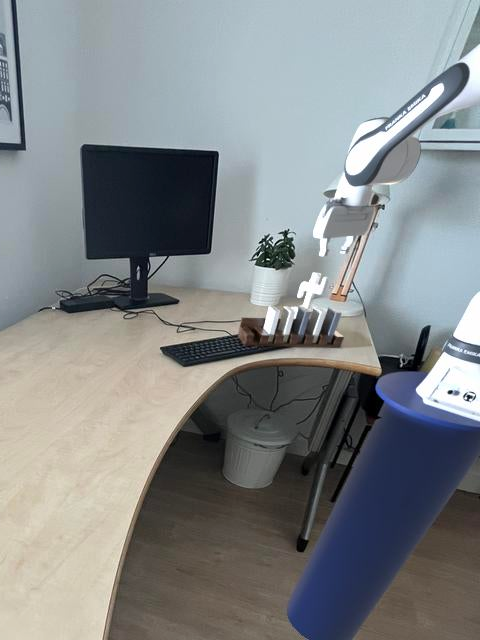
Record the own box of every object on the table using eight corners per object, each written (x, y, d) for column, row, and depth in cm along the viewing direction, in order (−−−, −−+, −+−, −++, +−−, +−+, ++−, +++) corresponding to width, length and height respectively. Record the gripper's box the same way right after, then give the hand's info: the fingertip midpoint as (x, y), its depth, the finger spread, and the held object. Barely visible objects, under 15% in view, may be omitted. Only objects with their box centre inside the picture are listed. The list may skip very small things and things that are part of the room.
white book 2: (286, 342, 135) (295, 311, 129) (281, 342, 135) (290, 311, 129) (280, 336, 140) (289, 306, 134) (275, 335, 140) (284, 306, 134)
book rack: (340, 347, 134) (347, 328, 131) (244, 345, 134) (249, 326, 131) (328, 338, 141) (335, 319, 138) (237, 336, 141) (241, 317, 137)
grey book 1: (301, 342, 135) (311, 312, 129) (296, 342, 135) (305, 311, 129) (294, 336, 140) (303, 306, 134) (289, 336, 140) (298, 306, 134)
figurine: (298, 314, 162) (312, 269, 152) (320, 320, 156) (335, 274, 146) (285, 316, 159) (298, 270, 149) (307, 323, 153) (322, 276, 143)
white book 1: (272, 342, 135) (280, 311, 129) (267, 342, 135) (275, 311, 129) (266, 335, 140) (274, 305, 134) (261, 335, 140) (269, 305, 134)
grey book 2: (330, 343, 135) (341, 312, 129) (325, 343, 135) (336, 312, 129) (323, 336, 140) (333, 307, 134) (318, 336, 140) (328, 307, 134)
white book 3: (316, 343, 135) (326, 312, 129) (311, 342, 135) (321, 312, 129) (309, 336, 140) (318, 306, 134) (304, 336, 140) (313, 306, 134)
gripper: (337, 199, 113) (318, 259, 122) (384, 197, 121) (364, 254, 130) (317, 197, 118) (300, 255, 126) (364, 195, 126) (345, 250, 134)
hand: (333, 254), depth 128 cm, fingers open, 8 cm apart
